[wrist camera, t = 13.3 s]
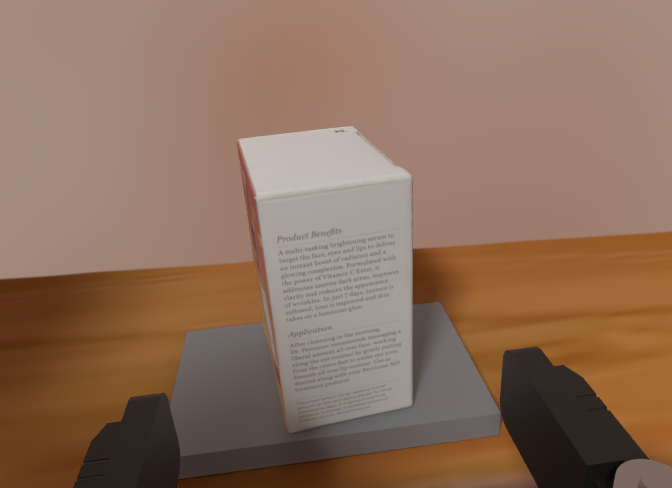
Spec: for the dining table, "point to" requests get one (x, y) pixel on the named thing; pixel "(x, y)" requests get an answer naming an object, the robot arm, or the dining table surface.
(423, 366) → the slate tile
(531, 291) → the dining table surface
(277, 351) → the small box
